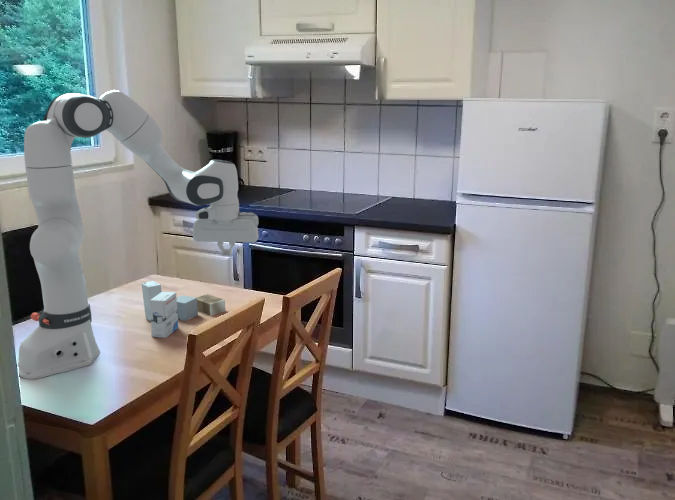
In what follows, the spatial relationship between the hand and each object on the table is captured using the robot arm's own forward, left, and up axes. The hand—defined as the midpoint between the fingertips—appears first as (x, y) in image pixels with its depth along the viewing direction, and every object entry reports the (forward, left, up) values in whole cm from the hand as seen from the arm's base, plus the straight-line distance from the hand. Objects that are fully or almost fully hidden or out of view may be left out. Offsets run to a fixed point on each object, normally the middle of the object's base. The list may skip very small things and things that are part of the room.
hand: (226, 255), depth 199 cm
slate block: (-9, +12, -21) cm, 26 cm away
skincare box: (-17, +17, -21) cm, 32 cm away
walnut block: (0, +6, -19) cm, 20 cm away
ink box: (-21, +5, -21) cm, 30 cm away
